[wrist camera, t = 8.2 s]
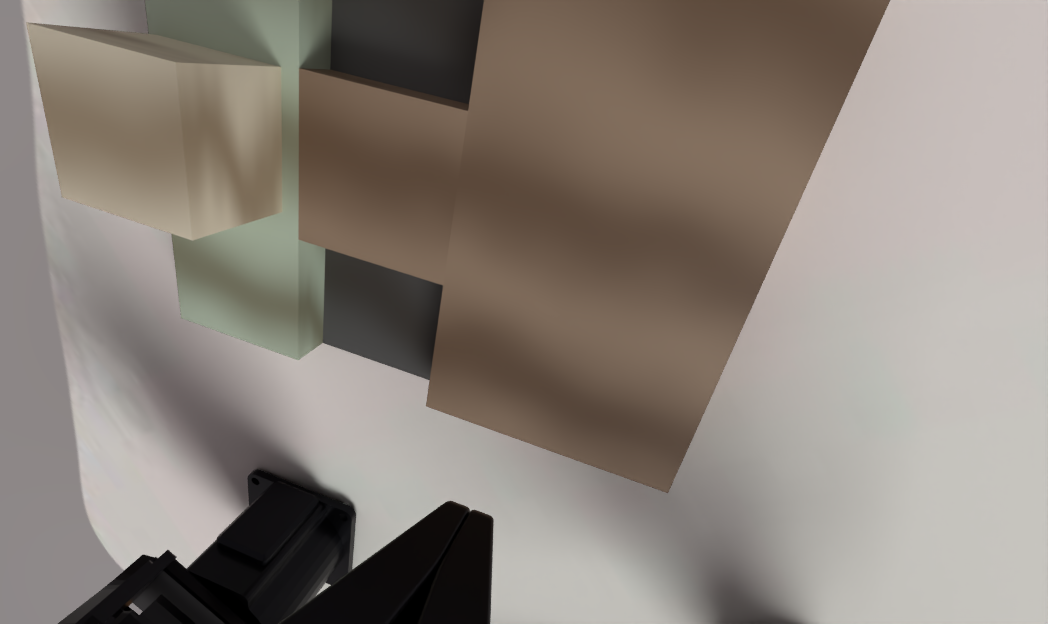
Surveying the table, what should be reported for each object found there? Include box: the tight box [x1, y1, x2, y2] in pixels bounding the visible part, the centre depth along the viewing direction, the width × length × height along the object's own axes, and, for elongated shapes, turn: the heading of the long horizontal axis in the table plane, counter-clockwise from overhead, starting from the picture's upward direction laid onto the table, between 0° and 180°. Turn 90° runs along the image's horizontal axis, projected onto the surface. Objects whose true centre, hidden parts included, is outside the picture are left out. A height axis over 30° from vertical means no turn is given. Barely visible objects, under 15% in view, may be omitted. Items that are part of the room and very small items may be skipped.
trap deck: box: [145, 0, 890, 493], centre depth 18 cm, size 17×22×2 cm
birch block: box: [26, 23, 282, 241], centre depth 17 cm, size 5×5×4 cm
